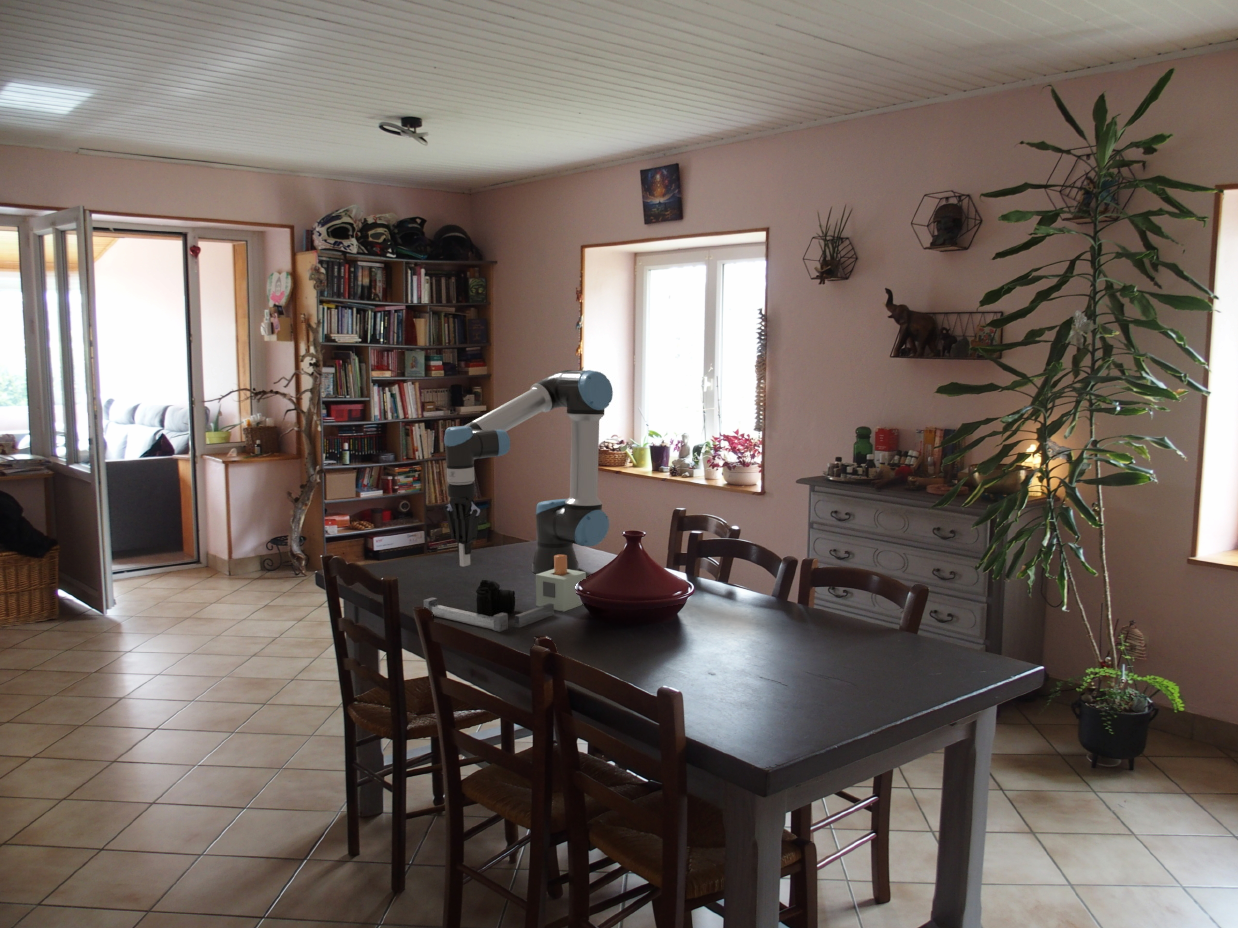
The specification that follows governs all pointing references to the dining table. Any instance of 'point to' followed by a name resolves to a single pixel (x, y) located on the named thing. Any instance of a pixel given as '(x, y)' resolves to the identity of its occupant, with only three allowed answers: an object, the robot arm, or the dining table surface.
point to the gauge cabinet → (558, 589)
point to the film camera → (494, 599)
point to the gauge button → (560, 565)
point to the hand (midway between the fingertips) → (465, 565)
